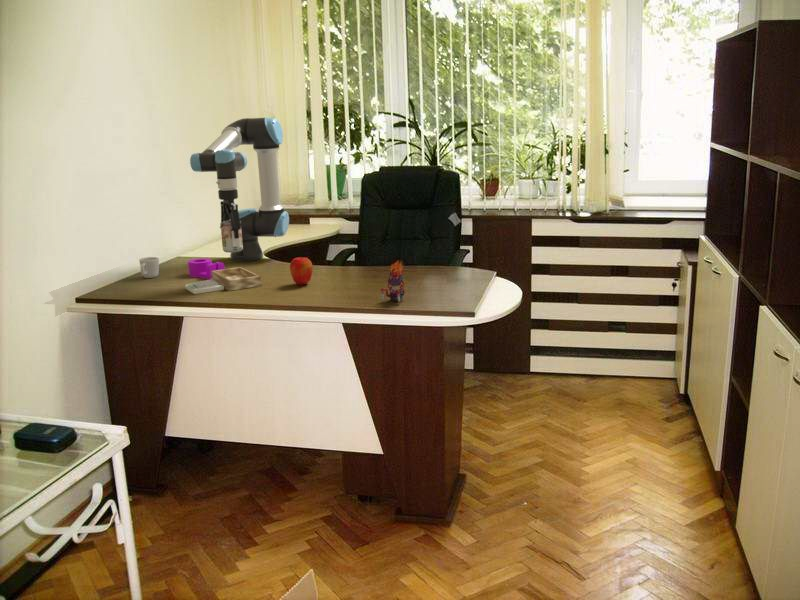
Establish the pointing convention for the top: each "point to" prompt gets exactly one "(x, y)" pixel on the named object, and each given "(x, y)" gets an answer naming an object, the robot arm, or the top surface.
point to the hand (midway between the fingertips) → (232, 244)
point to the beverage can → (229, 237)
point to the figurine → (395, 283)
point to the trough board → (236, 278)
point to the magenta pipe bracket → (203, 268)
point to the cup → (149, 267)
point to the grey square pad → (203, 284)
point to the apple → (301, 270)
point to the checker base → (203, 290)
